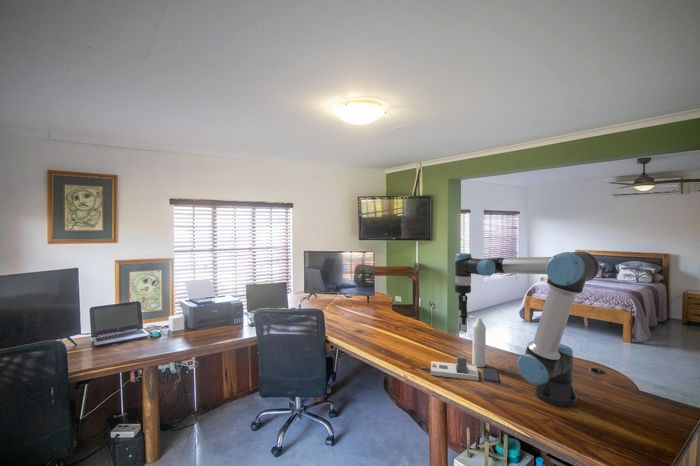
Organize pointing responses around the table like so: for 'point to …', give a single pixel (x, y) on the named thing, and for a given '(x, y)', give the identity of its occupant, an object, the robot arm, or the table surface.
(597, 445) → the table surface
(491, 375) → the phone
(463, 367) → the charger
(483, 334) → the water bottle
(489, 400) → the table surface
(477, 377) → the power strip
